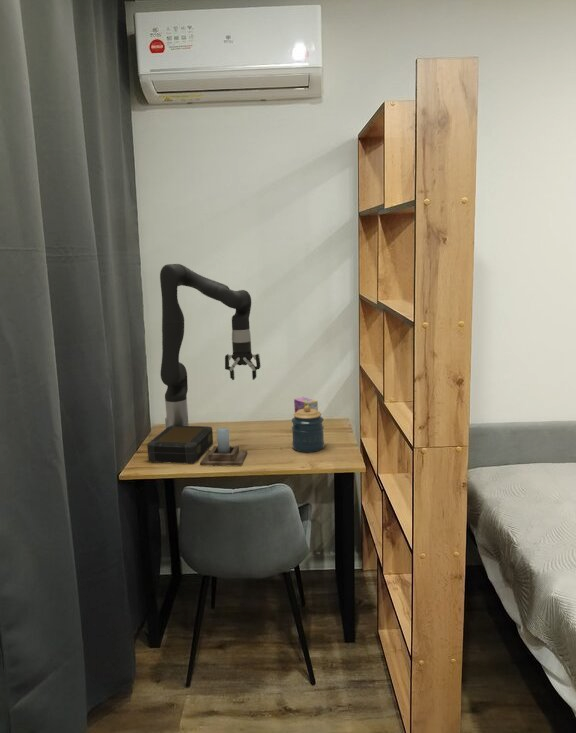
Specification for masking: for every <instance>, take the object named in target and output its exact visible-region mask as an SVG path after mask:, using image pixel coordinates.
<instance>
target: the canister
mask: <svg viewBox="0 0 576 733" xmlns="http://www.w3.org/2000/svg"><path fill="white" fill-rule="evenodd" d="M291 422H292V427H291V431H292V443H291V444H292V447H293V448H292V449H294V450H295V451H298V452H300V453H314V452H319V451H321V450H323V449H324V446H325V439H324V428H325V427H324V425H323V422H324V418H323V417H322V413H321V411H319V410H318V411H317V410H316V409H310V406H305V407H304V409H300V410H298V411H297V412H295V411H294V413H293V418H291Z"/></svg>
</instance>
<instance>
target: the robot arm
mask: <svg viewBox="0 0 576 733" xmlns="http://www.w3.org/2000/svg"><path fill="white" fill-rule="evenodd" d="M159 281H160V282H159V283H160V291H161V309H162V310H161V313H162V314H161V335H162V336H161V340H162V342H161V344H162V347H161V348H162V349H161V350H162V352H161V353H162V354H161V355H162V356H161V364H160V379H161V381H162V383H163V384H164V385H165V386H167V389H166V391H165V393H164V402H165V404H164V405H165V414H166V417H165V418H164V421H165V429H166V428H168V427H169V426H190V424H189V411H188V398H187V397H188V395H187V394H188V391H189V390H188V388H189V387H188V372H187V369H186V366H185V365H184V364H183V363H182V362H180V351H181V347H182V345H183V344H182V343H183V340H184V336H185V316H184V313H183V310H182V308H181V306H180V303H179V300H178V288H179V287H180V286H183V287H189V288H193V289H195V290H197V291H198V292H199V293H201V294H202V295H204V296H206V297H208V298H211V299H213V300H215V301H217V302H221V303H222V304H224V305H225V306H227V307H228V308H230V309H234V310H235V313H234V314H233V315H232V317H231V345H232V354H229V353H228V354H226V355H225V356H224V370H227V371H229V378H230V379H231V381H234V380H235V368H236V366H247V365H248V367H250V369H251V370H252V371H251V377H252V381H253V380H256V378H257V370H260V369H261V358H260V357H261V356H260V353H256V354H253V353H252V338H251V329H250V314H251V309H252V297H251V294H250V292H248V291H247V290H245V289H239V290H232V289H230V287H229V286H228V285H226V284H224V283H221V282H218V281H216V280H214V279H210V278H208V277H205V276H203V275H201V274H199V273H197V272H195V271H194V270H192V269H190V268H188V267H187V266H185V265H183V264H181V263H169V264H168V263H167V264H165V265H163V266H162V267H161V269H160V272H159ZM231 359H232V360H233V361H234V362H233V363H232V364H231V366H230V360H231ZM252 359H253V360H254V361H255V364H256V365H255V364H254V363H253V361H252Z"/></svg>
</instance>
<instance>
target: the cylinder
mask: <svg viewBox="0 0 576 733" xmlns="http://www.w3.org/2000/svg"><path fill="white" fill-rule="evenodd" d="M229 430H230V428H228V427H219V428H217V429H216V438H217V439H216V442H217V446H218V453H230V446H231V445H230V431H229Z"/></svg>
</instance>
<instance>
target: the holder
mask: <svg viewBox="0 0 576 733" xmlns="http://www.w3.org/2000/svg"><path fill="white" fill-rule="evenodd" d="M247 455H248V450H246V449H243V450H242V449H240V447H239V445H230V453H218V445H214V446H213V447H212V448H211V449H210V450H209V449H208V450H207V451H206V452H205V453H204V456H203V457H202V459H201V460H200V461H199V466H200V465H213V466H214V467H216V466H215V465H218V466H217V467H219V465H243V464H242V463H244V462H243V461H245V459H246V457H247ZM213 466H212V467H213Z"/></svg>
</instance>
